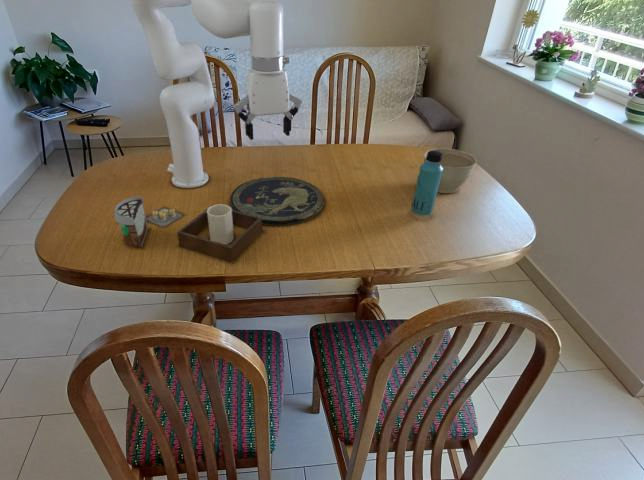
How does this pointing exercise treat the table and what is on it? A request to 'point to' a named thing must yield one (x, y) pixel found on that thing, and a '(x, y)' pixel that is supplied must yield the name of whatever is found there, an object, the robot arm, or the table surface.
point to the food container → (132, 220)
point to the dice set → (163, 217)
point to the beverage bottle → (427, 184)
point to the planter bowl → (454, 169)
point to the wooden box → (215, 248)
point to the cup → (220, 223)
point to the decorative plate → (278, 200)
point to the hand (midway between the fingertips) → (268, 136)
